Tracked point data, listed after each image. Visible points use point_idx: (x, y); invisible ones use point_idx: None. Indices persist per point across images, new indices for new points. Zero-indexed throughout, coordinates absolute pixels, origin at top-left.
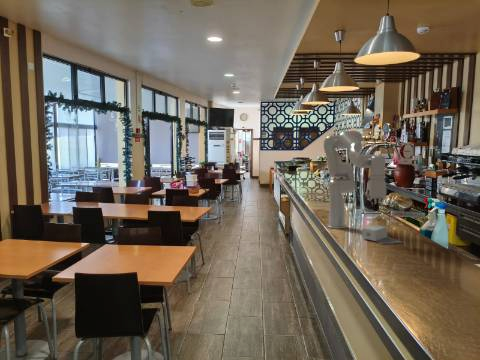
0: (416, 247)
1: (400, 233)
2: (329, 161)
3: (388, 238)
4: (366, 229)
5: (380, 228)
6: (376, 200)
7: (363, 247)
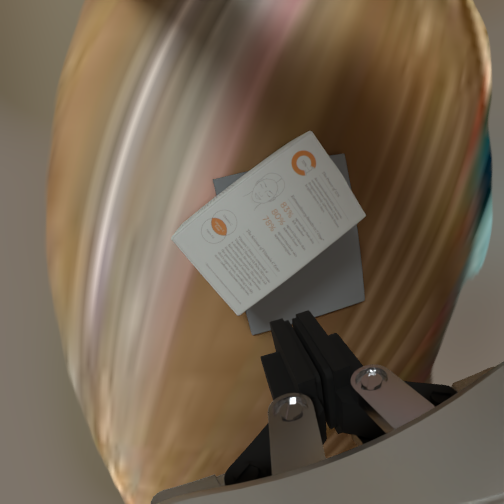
0: (372, 359)
1: (427, 117)
2: None
3: None
4: (192, 263)
5: (299, 262)
6: (376, 414)
7: (147, 371)
